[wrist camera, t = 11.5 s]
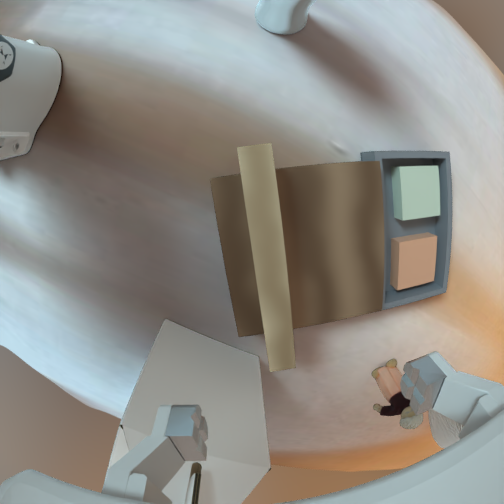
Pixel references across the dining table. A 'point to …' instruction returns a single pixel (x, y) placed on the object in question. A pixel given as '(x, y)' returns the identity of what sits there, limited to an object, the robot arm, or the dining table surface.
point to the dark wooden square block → (310, 243)
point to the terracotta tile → (413, 260)
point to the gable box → (203, 414)
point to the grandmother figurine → (395, 396)
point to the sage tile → (415, 191)
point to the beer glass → (283, 15)
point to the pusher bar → (268, 252)
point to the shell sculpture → (444, 429)
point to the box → (415, 222)
